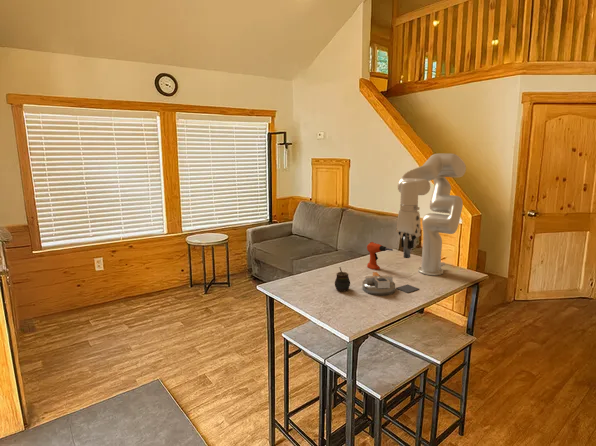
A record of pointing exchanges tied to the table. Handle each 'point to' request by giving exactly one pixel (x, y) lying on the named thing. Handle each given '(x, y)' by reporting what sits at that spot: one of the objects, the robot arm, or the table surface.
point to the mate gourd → (342, 281)
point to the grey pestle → (406, 247)
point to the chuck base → (375, 291)
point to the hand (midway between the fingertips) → (407, 247)
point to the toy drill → (373, 249)
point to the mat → (407, 288)
